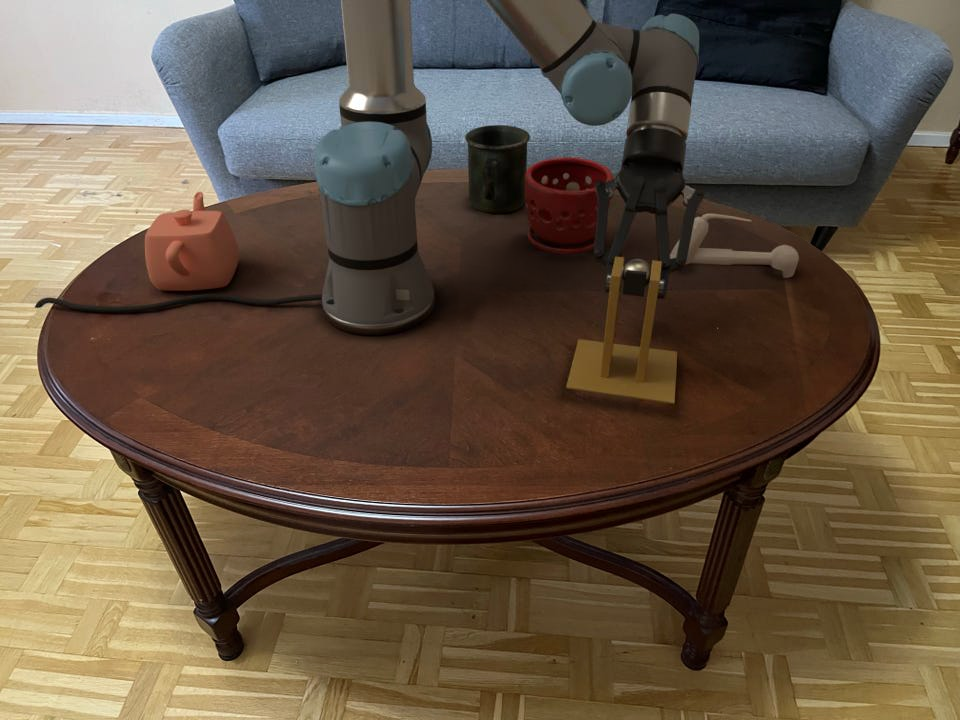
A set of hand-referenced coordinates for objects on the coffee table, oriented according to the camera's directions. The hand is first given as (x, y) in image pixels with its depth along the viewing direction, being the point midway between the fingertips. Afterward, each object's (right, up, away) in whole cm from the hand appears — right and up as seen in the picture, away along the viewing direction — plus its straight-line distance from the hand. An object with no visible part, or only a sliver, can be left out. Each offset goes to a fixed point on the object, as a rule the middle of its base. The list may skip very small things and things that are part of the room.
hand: (630, 320), depth 86 cm
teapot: (-60, +8, +21) cm, 63 cm away
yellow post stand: (-1, -7, -1) cm, 7 cm away
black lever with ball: (0, +3, -4) cm, 5 cm away
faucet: (+19, +8, +20) cm, 29 cm away
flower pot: (-5, +13, +27) cm, 31 cm away
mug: (-15, +22, +40) cm, 48 cm away
